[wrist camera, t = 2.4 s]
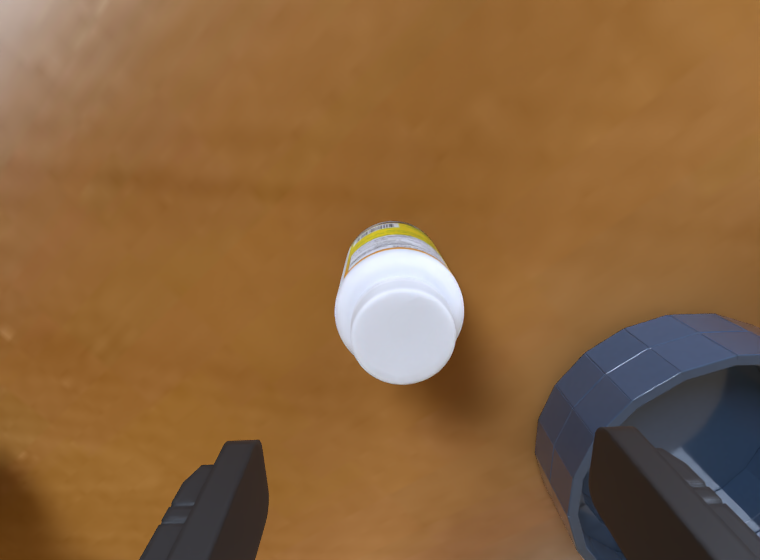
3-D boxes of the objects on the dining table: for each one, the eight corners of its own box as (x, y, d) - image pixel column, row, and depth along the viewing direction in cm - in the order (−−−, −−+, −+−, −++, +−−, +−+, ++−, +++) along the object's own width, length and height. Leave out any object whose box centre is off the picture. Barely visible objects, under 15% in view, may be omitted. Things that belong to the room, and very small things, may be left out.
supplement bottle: (409, 322, 26) (429, 426, 17) (330, 282, 26) (302, 367, 16) (456, 246, 25) (507, 311, 15) (373, 201, 24) (372, 239, 14)
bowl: (543, 312, 26) (589, 359, 21) (818, 304, 26) (941, 349, 21) (522, 524, 32) (554, 608, 26) (751, 518, 32) (833, 600, 26)
